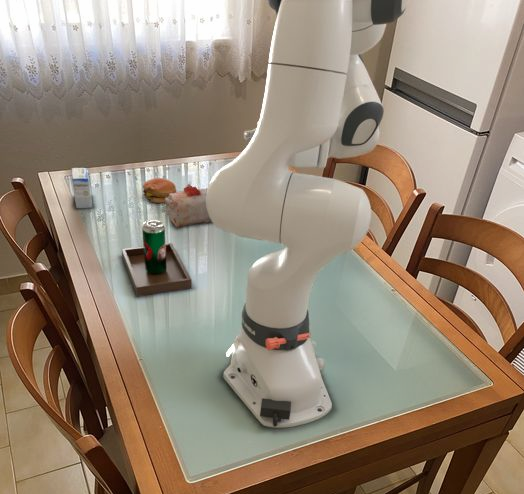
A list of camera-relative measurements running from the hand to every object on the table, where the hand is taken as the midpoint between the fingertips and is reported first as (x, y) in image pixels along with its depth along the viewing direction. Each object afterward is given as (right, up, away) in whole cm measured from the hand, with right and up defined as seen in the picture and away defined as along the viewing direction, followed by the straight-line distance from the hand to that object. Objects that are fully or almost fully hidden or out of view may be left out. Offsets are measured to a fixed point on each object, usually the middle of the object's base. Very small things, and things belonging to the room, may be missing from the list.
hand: (252, 143), depth 114 cm
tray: (-23, -26, +13) cm, 37 cm away
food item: (-18, -8, +35) cm, 40 cm away
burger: (-29, +1, +45) cm, 54 cm away
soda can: (-23, -25, +13) cm, 37 cm away
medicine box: (-49, -2, +39) cm, 63 cm away
